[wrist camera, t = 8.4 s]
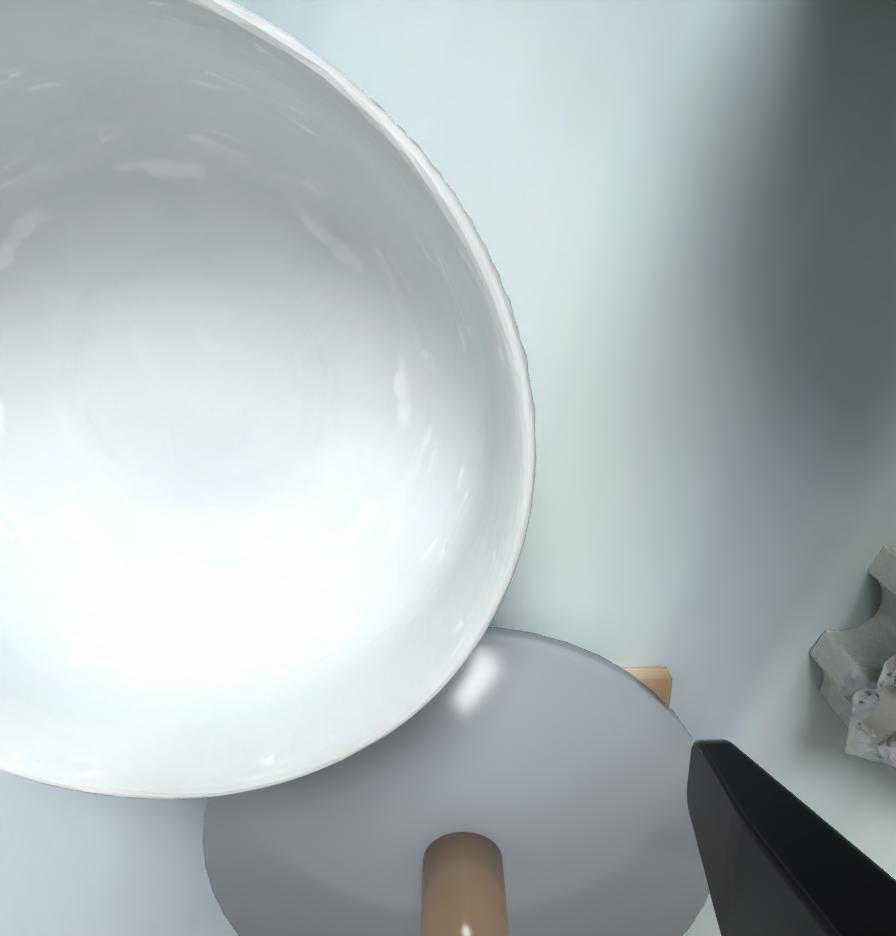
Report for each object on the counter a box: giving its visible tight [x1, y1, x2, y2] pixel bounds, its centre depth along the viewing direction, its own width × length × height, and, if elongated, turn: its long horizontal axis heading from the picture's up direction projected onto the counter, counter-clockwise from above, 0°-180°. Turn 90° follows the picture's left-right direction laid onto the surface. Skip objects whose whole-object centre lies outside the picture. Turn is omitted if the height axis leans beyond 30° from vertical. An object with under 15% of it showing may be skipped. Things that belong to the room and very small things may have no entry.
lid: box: [203, 627, 710, 936], centre depth 23 cm, size 18×18×5 cm
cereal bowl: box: [0, 0, 536, 800], centre depth 17 cm, size 17×17×7 cm
